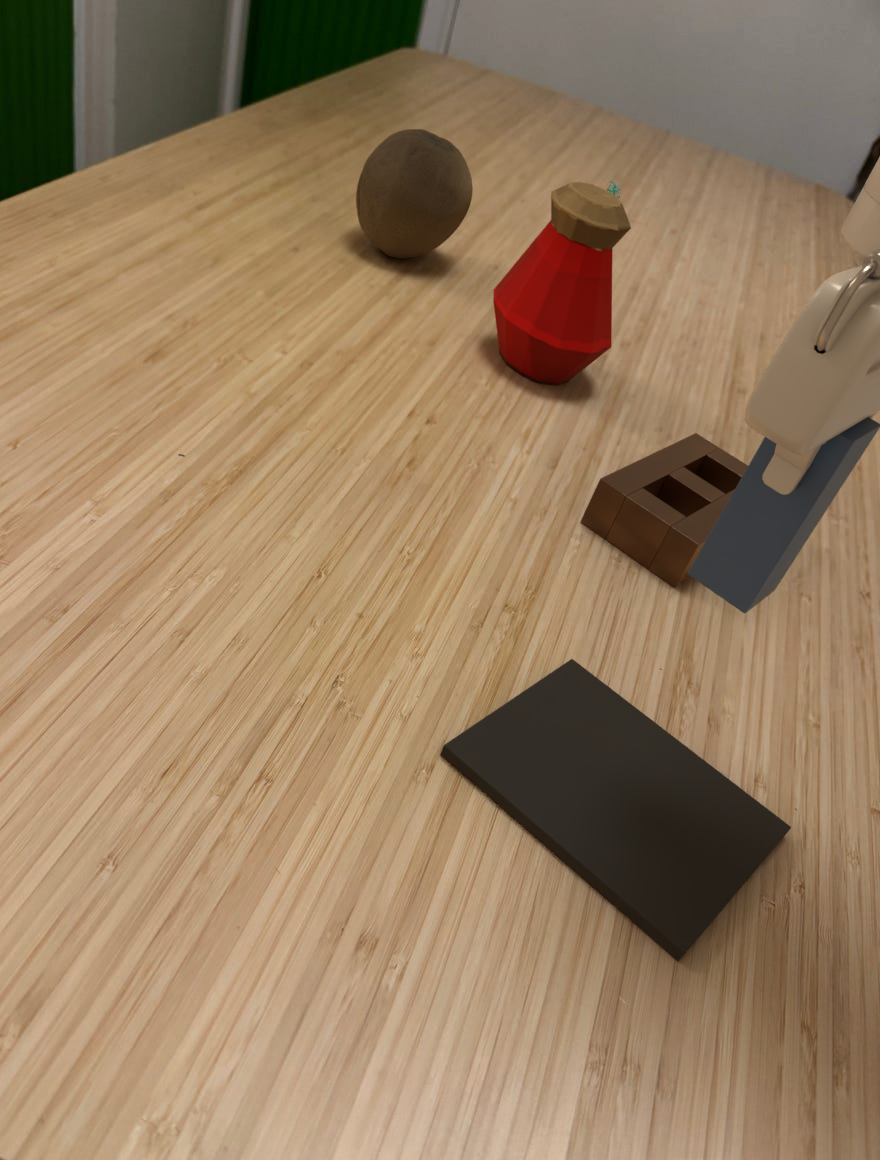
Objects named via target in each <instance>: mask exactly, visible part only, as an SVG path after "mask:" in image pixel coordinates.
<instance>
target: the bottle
mask: <svg viewBox="0 0 880 1160" xmlns="http://www.w3.org/2000/svg"><path fill="white" fill-rule="evenodd" d="M618 198H619V197H618ZM618 198H617V196H616V194H615V195H613V194H612V193H610V192H609V191H607V189H605V188H603V187H600V186H598V185H595V184H593V183H589V182H585V183H584V181H573V182H569V183H567V184H565V185H562V186H561V187H558V188H556V189H554V190H552V191H550V203H551V204H550V220H549V222H548V223H547V224H546V225H545V226H544V227H543V229H542V230H541V231H540V232H539V234H538V235H537V236H536V237H535V238H534V240H533V241H532V242H531V243H530V245H529V246H528V247H527V248H526V249H525V251H524V252H523V253H522V255H521V256H520V257H519V258H518V260H516V262H515V263H514V264H513V265H512V266H511V268H510V269H509V270H508V271H507V272H506V274H505V275H503V278H502V279H501V280H500V281H499V282H498V283H497V284H496V286H494V287H495V288H493V298H492V299H493V300H492V301H493V309H494V318H495V326H496V327H495V328H496V334H497V343H498V351H499V356H500V357H501V359H502V360H503V362H504V363H505V365H506V366H508V367H509V368H511V369H512V370H513V371H515V372H516V373H517V374H519V375H520V376H522V377H524V378H526V379H528V380H531V381H533V382H535V383H537V384H542V385H548V386H549V385H550V386H555V387H556V386H559V385H563V384H565V383H568V382H570V381H571V380H572V379H573V378H575V377H576V376H577V375H578V374H580V373H581V372H582V371H584V370H585V369H586V368H587V367H588V366H590V365H591V364H592V363H593V362H595V361H596V360H597V359H599V358H600V357H601V356H602V355H604V354H605V353H606V352H607V351H609V350H610V349H612V331H613V328H612V327H613V324H612V323H613V321H612V319H613V315H612V314H613V249H614V247H615V246H616V245H617V244H618V243H619V242H620V241H621V240H622V239H623V238H624V236H626V234H627V233H628V232H629V231H630V230H631V229H632V226H631V223H630V220H629V217H628V215H627V212H626V210H625V207H624V204H623V202H622V200H621V199H620V198H619V199H618Z"/></svg>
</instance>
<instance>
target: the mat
mask: <svg viewBox="0 0 880 1160" xmlns="http://www.w3.org/2000/svg"><path fill="white" fill-rule="evenodd" d="M439 754H440V756H441V757H443V759H444V760H446V761H447V762H448V763H449V764H450V765H452V766H453V767H454V768H455V769H456V770H457V771H459V772H460V773H461V774H462V775H463V776H464V777H465V778H466V779H468V780H469V781H470V782H471V783H472V784H473V785H475V786H476V787H477V788H478V789H479V790H480V791H482V793H484V794H485V795H486V796H487V797H488V798H490V799H491V800H492V801H493V802H494V803H495V804H497V806H499V807H500V808H501V809H502V810H503V811H505V813H506V814H508V815H509V816H510V817H511V818H513V819H514V820H515V821H516V822H517V823H518V824H520V825H521V826H522V827H523V828H524V829H525V830H526V831H527V832H529V833H530V834H531V835H532V836H534V837H535V838H536V839H537V840H538V841H539V842H540V843H541V844H543V845H544V846H545V847H546V848H547V850H549V851H551V853H553V854H554V855H555V856H556V857H557V858H559V860H561V861H562V862H563V863H564V864H566V865H567V867H569V868H570V869H571V870H573V871H574V872H575V873H576V874H577V875H578V876H579V877H580V878H582V879H583V880H584V881H585V882H586V883H587V884H588V885H589V886H591V888H593V889H594V890H595V891H597V892H598V893H599V894H600V895H601V896H602V897H603V898H605V899H606V900H607V901H608V902H609V903H610V904H612V905H613V906H614V907H615V908H616V909H617V910H619V911H620V912H621V913H622V914H623V915H624V916H626V917H627V918H628V919H629V920H630V921H631V922H632V923H633V924H634V925H636V926H637V927H638V928H639V929H641V931H642V932H644V933H645V934H646V935H647V936H648V937H650V938H651V939H652V940H653V941H654V942H655V943H657V944H658V945H659V946H660V947H661V948H662V949H663V950H664V951H666V952H667V953H668V954H669V955H670V956H671V957H672V958H674V959H675V960H676V961H677V962H679V961H681V959H682V958H683V957H684V956H685V955H686V954H687V953H688V951H689V950H690V949H691V948H692V947H693V945H694V944H695V943H696V942H697V940H698V939H700V937H701V935H703V933H705V931H706V930H707V929H708V927H709V926H710V925H711V924H712V923H713V922H714V920H716V918H717V917H718V915H719V914H720V913H721V912H722V911H723V910H724V908H725V907H726V906H727V905H728V904H729V903H730V902H731V901H732V899H733V898H734V897H735V895H736V894H737V893H738V892H739V891H740V890H741V888H742V887H743V886H744V885H745V884H746V882H748V880H749V879H750V878H751V876H752V875H753V874H754V873H755V872H756V870H758V869H759V867H760V866H761V865H762V863H764V861H765V860H766V859H767V858H768V856H769V855H770V854H771V853H772V851H774V849H776V847H777V846H778V845H779V843H780V842H781V841H782V840H783V839H784V837H786V835H787V834H788V832H789V831H790V830H791V829H792V826H790V825H789V824H788V823H787V822H785V821H784V820H782V818H781V817H779V816H777V815H776V814H775V813H774V812H773V811H771V810H770V809H768V808H767V807H766V806H765V805H763V804H762V803H760V802H759V801H758V800H757V799H755V798H754V797H753V796H751V795H750V794H749V793H747V792H746V791H745V790H744V789H743V788H741V787H740V786H739V785H737V784H736V783H734V782H733V781H732V780H731V779H729V778H728V777H727V776H726V775H724V774H723V773H722V772H720V771H719V770H717V769H716V768H715V767H714V766H712V765H711V764H710V763H709V762H707V761H706V760H705V759H703V758H702V757H701V756H700V755H698V754H697V753H696V752H694V751H693V750H691V749H690V748H689V747H688V746H687V745H685V744H684V743H683V742H682V741H680V740H679V739H678V738H676V737H675V736H674V735H672V734H671V733H670V732H668V731H667V730H666V729H664V728H663V727H662V726H660V725H659V724H658V723H656V722H655V721H654V720H652V719H651V718H650V717H649V716H648V715H646V714H645V713H643V712H642V711H641V710H640V709H638V708H637V707H636V706H634V705H633V704H631V702H629V701H628V700H627V699H625V698H624V697H622V696H621V695H620V694H619V693H618V692H616V691H615V690H613V689H612V688H611V687H610V686H609V685H607V684H606V683H604V681H602V680H601V679H599V678H598V677H597V676H596V675H595V674H593V673H592V672H590V671H589V670H588V669H586V668H585V667H584V666H583V665H581V664H580V663H578V662H577V661H576V660H575V659H573V658H571V659H569V660H567V661H566V662H565V663H563V664H562V665H560V666H559V667H557V668H555V670H553V671H551V672H550V673H548V674H547V675H546V676H544V677H542V678H541V679H539V680H537V682H535V683H534V684H533V685H531V686H529V687H527V688H526V689H525V690H523V691H522V692H520V693H519V694H517V695H516V696H514V697H513V698H512V699H510V700H509V701H506V703H504V704H502V705H501V706H500V707H498V708H497V709H495V710H493V711H492V712H491V713H489V714H488V715H486V716H485V717H483V718H482V719H480V720H479V721H477V722H476V723H475V724H473V725H471V726H470V727H469V728H466V729H465V730H464V731H463V732H461V733H460V734H458V735H457V736H455V737H454V738H452V739H450V740H449V741H447V742H446V743H444V745H443V746H442V749H441V750H440V753H439Z"/></svg>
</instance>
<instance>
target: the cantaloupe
mask: <svg viewBox="0 0 880 1160" xmlns="http://www.w3.org/2000/svg"><path fill="white" fill-rule="evenodd" d="M356 185H357V186H356V195H355V205H356V206H355V207H356V215H357V220H358V223H359V226H360V228H361V231H362V232H363V234H364V235H365V236H366V238H367V239H368V241H370V242H371V243H372V244H373V245H375V246H376V247H377V248H378V249H379V250H380V251H382V253H383V254H385V255H386V256H389V257H390V258H394V259H409V258H416V257H420V256H423V255H426V254H428V253H431V252H432V251H434V250H435V249H437V248H439V247H440V246H441V245H442V244H444V243H445V242H446V241H447V240H449V238H450V237H451V236H452V235H453V234H454V233H455V232H456V231H457V230H458V229H459V227H460V226H461V224H462V223H463V221H464V219H465V217H466V216H467V214H468V212H469V209H470V206H471V204H472V199H473V189H474V188H473V179H472V174H471V171H470V168H469V165H468V164H467V161H466V159H465V157H464V155H463V154H462V152H461V150H460V149H459V148H458V147H457V146H456V145H454V144H453V143H452V142H451V141H449V140H448V139H447V138H443V137H441V136H438V135H437V134H435V133H433V132H430V131H428V130H426V129H421V128H417V129H416V128H410V129H409V128H408V129H403V130H399V131H397V132H394V133H392V134H390V135H388V137H386V138H385V139H384V140H383V141H381V142H380V143H379V144H378V145H377V146H376V147H375V148H374V149H373V151H372V152H371V153H370V154H369V156H368V157H367V159H366V160H365V162H364V164H363V167H362V170H361V172H360V176H359V178H358V182H357V184H356Z"/></svg>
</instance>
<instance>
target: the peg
mask: <svg viewBox="0 0 880 1160" xmlns="http://www.w3.org/2000/svg"><path fill="white" fill-rule="evenodd" d="M879 430H880V422H878V421H876V420H874V419H873V418H872V419H871V418H869V417H867V418H865V419H864V420H862V421H860V422H859V423H857V424H855V425H854V426H852V427H850V428H848V429H847V430H845V431H843V432H842V433H840V434H838V435H837V436H835V437H833V438H832V439H830V440H828V441H827V442H826V443H825V444H823V445H821V447H820V449H819V451H818V452H817V454H816V456H815V458H814V460H813V461H812V464H814V465H813V467H812V468H811V470H810V472H809V473H808V475H807V476H806V478H805V479H804V481H803V483H802V484H801V486H800V487H798V488H797V489H796V490H794V491H792V492H791V493H789V494H787V495H782V494H780V493H778V492H777V491H775V490H773V489H772V488H770V487H769V486H767V485H766V484H765V483H764V481H763V480H762V477H763V473H764V471H765V470H766V468H767V466H768V464H769V463H770V461H771V459H772V457H773V456H774V454H775V453H774V452H775V448H776V443H774V442H773V441H771V440H769V439H768V438H766V437H765V436H764V438H763V440H761V442H760V445H759V446H758V448H757V450H756V451H755V453H754V455H753V457H752V459H751V461H750V462H749V464H748V467H747V469H746V471H745V473H744V475H743V476H742V478H741V480H740V482H739V483H738V485H737V487H736V489H735V490H734V492H733V494H732V496H731V497H730V499H729V501H728V503H727V504H726V506H725V508H724V510H723V512H722V513H721V515H720V517H719V519H718V520H717V522H716V524H715V526H714V527H713V529H712V531H711V533H710V534H709V536H708V538H707V540H706V541H705V543H704V545H703V547H702V549H701V550H700V552H699V554H698V556H697V557H696V559H695V561H694V563H693V564H692V566H691V568H690V570H689V571H688V575H690V576H691V577H690V578H692V579H694V580H695V581H697V582H698V583H700V584H701V585H702V586H704V587H705V588H707V589H708V590H709V591H711V592H713V594H715V595H717V596H718V597H720V598H721V599H723V600H724V601H726V602H727V603H728V604H730V605H731V606H733V607H734V608H736V609H737V610H739V611H740V612H742V613H743V614H747V613H748V612H749V611H750V610H752V609H753V608H754V607H756V606H757V605H758V604H759V603H761V602H762V601H763V600H765V599H766V598H768V597H769V596H770V595H771V594H773V593H774V592H775V591H776V589H777V587H779V584H780V583H781V581H782V580H783V578H784V577H785V575H786V573H787V572H788V571H789V570H790V568H791V565H793V563H794V561H795V560H796V558H797V557H798V555H799V553H800V552H801V551H802V549H803V547H804V546H805V544H806V543H807V541H808V540H809V538H810V537H811V535H812V534H813V532H814V530H815V529H816V528H817V526H818V524H819V523H820V521H821V520H822V518H823V516H824V515H825V513H826V512H827V510H828V509H829V507H830V505H831V504H832V503H833V501H834V499H835V498H836V496H837V495H838V493H839V492H840V490H841V489H842V487H843V486H844V484H845V482H846V481H847V479H848V478H849V476H850V474H851V473H852V472H853V470H854V468H855V467H856V465H857V464H858V462H859V461H860V459H861V458H862V456H863V454H864V453H865V451H866V450H867V448H868V447H869V445H870V444H871V442H872V441H873V439H874V438H875V436H876V434H877V433H878V431H879Z"/></svg>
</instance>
